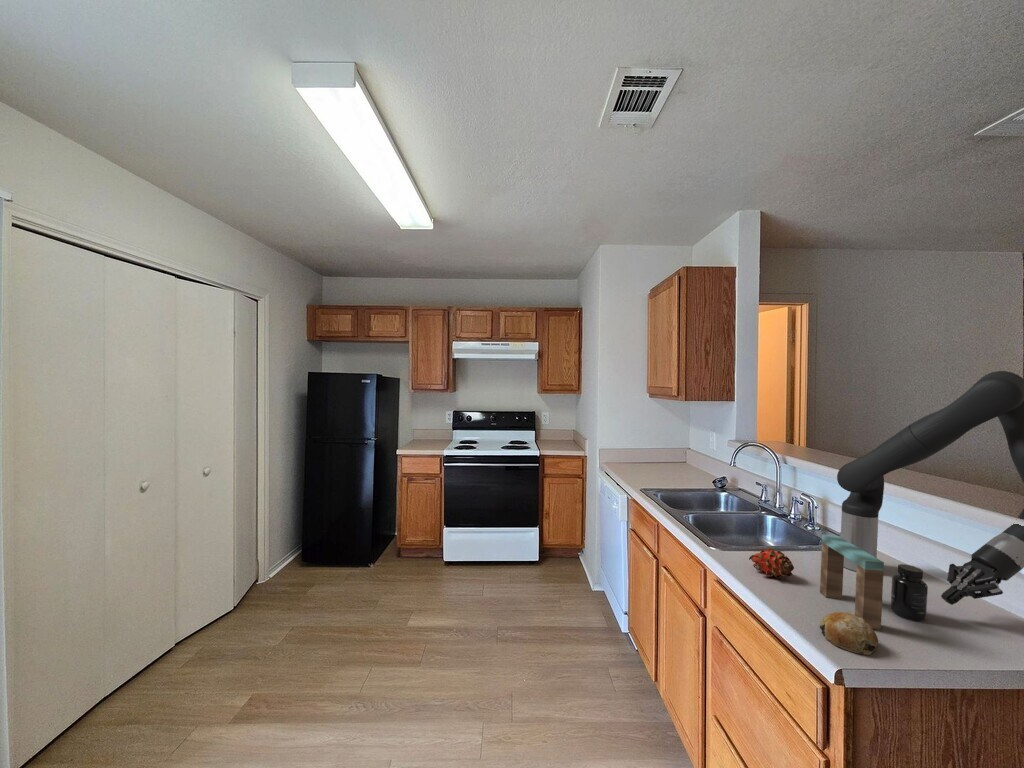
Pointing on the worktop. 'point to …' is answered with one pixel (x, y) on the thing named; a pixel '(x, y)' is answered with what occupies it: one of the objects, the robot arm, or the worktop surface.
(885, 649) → the worktop surface
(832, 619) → the bread roll
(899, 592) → the supplement bottle
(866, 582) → the gate
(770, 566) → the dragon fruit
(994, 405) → the robot arm
